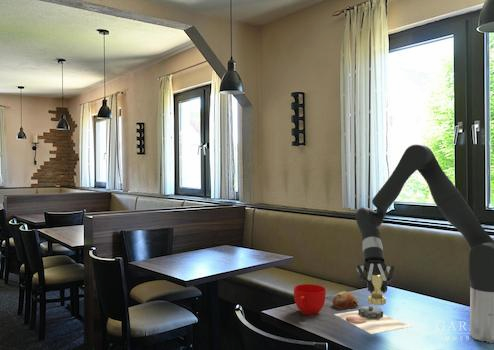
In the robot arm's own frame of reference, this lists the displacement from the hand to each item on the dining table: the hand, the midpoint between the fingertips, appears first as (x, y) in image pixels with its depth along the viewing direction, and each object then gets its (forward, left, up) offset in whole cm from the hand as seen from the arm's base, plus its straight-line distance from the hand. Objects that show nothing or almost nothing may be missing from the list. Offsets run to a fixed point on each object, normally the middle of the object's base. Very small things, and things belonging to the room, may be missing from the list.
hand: (377, 291), depth 155 cm
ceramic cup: (+27, +12, -15) cm, 33 cm away
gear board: (+8, -4, -15) cm, 18 cm away
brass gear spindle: (+2, -1, -5) cm, 5 cm away
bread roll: (+30, -8, -15) cm, 34 cm away
